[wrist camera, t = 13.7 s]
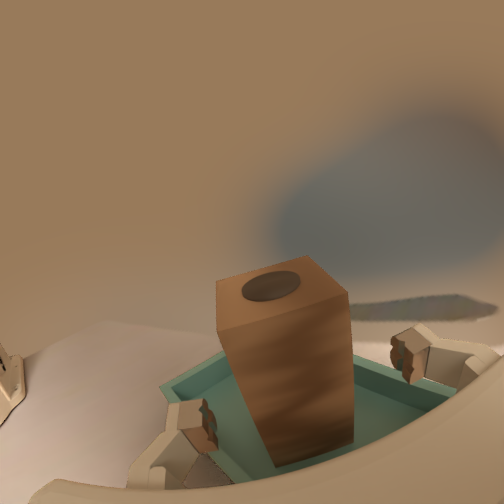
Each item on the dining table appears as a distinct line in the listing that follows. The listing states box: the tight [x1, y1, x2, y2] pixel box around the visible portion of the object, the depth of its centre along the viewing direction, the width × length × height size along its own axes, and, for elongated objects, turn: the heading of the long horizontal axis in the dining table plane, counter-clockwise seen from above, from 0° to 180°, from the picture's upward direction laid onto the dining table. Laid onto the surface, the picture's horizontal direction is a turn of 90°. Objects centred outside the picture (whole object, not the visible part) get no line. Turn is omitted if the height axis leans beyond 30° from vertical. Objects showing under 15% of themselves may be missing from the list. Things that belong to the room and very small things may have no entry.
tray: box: [159, 350, 457, 484], centre depth 15 cm, size 20×12×3 cm, turn 38°
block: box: [216, 256, 354, 468], centre depth 14 cm, size 5×5×11 cm
